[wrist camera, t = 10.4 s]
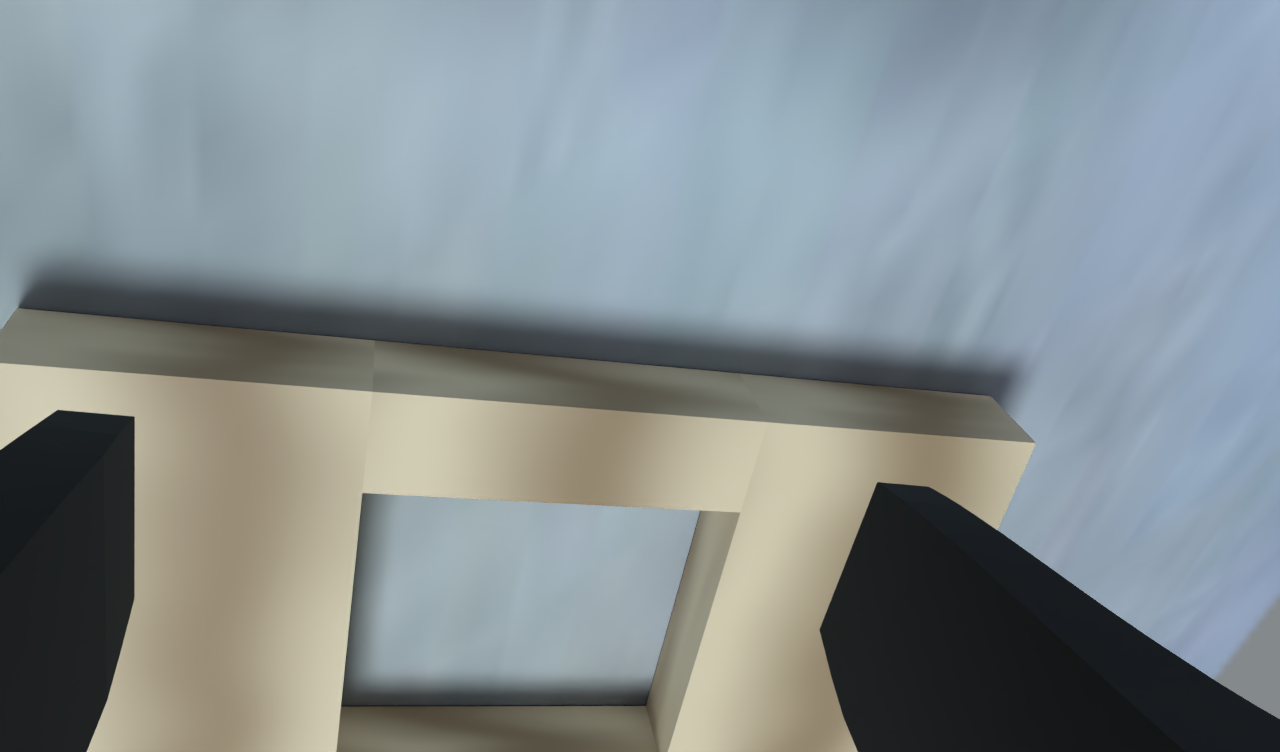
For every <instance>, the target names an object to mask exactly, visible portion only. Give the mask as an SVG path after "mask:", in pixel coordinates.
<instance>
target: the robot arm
mask: <svg viewBox="0 0 1280 752" xmlns="http://www.w3.org/2000/svg"><path fill="white" fill-rule="evenodd" d="M134 598H135V417H134V416H123V415H111V414H100V413H89V412H77V411H66V410H57V411H55V412H54V413H52V414H51V415H49V416H48V417H46V418H45V419H44V420H42V421H41V422H39V423H38V424H36V425H35V426H33V427H32V428H30V429H29V430H28V431H26V432H25V433H23V434H22V435H20V436H19V437H18V438H16V439H15V440H13V441H12V442H11V443H9V444H8V445H6V446H5V447H4V448H2V449H1V450H0V752H87V750H88V747H89V745H90V742H91V740H92V737H93V735H94V732H95V730H96V727H97V725H98V722H99V720H100V717H101V715H102V712H103V710H104V707H105V705H106V702H107V699H108V696H109V692H110V689H111V685H112V681H113V678H114V674H115V671H116V667H117V663H118V660H119V656H120V652H121V649H122V645H123V641H124V637H125V633H126V629H127V625H128V622H129V618H130V614H131V610H132V606H133V602H134ZM819 630H820V634H821V638H822V642H823V646H824V650H825V654H826V658H827V662H828V666H829V669H830V673H831V677H832V681H833V684H834V687H835V691H836V694H837V697H838V701H839V704H840V707H841V711H842V714H843V717H844V720H845V722H846V725H847V727H848V729H849V732H850V734H851V737H852V739H853V742H854V744H855V746H856V749H857V751H858V752H1280V719H1278V718H1276V717H1275V716H1273V715H1271V714H1269V713H1268V712H1266V711H1264V710H1262V709H1261V708H1259V707H1257V706H1255V705H1254V704H1252V703H1251V702H1249V701H1247V700H1246V699H1244V698H1242V697H1241V696H1239V695H1237V694H1236V693H1234V692H1233V691H1231V690H1229V689H1228V688H1226V687H1224V686H1223V685H1221V684H1220V683H1218V682H1216V681H1215V680H1213V679H1212V678H1210V677H1209V676H1207V675H1206V674H1204V673H1202V672H1201V671H1199V670H1198V669H1196V668H1195V667H1193V666H1192V665H1190V664H1189V663H1187V662H1186V661H1184V660H1183V659H1181V658H1180V657H1178V656H1176V655H1175V654H1173V653H1172V652H1170V651H1169V650H1167V649H1166V648H1164V647H1163V646H1161V645H1160V644H1158V643H1157V642H1155V641H1154V640H1152V639H1151V638H1149V637H1148V636H1146V635H1145V634H1143V633H1142V632H1140V631H1139V630H1137V629H1136V628H1134V627H1133V626H1132V625H1130V624H1129V623H1127V622H1126V621H1124V620H1123V619H1121V618H1120V617H1118V616H1117V615H1116V614H1114V613H1113V612H1111V611H1110V610H1108V609H1107V608H1106V607H1104V606H1103V605H1101V604H1100V603H1098V602H1097V601H1096V600H1094V599H1093V598H1091V597H1090V596H1089V595H1087V594H1086V593H1084V592H1083V591H1082V590H1080V589H1079V588H1077V587H1076V586H1075V585H1073V584H1072V583H1070V582H1069V581H1068V580H1066V579H1065V578H1063V577H1062V576H1061V575H1059V574H1058V573H1056V572H1055V571H1054V570H1052V569H1051V568H1049V567H1048V566H1047V565H1045V564H1044V563H1042V562H1041V561H1040V560H1038V559H1037V558H1035V557H1034V556H1033V555H1031V554H1030V553H1028V552H1027V551H1026V550H1024V549H1023V548H1022V547H1020V546H1019V545H1017V544H1016V543H1015V542H1013V541H1012V540H1010V539H1009V538H1008V537H1006V536H1005V535H1003V534H1002V533H1000V532H999V531H998V530H996V529H995V528H993V527H992V526H990V525H989V524H987V523H986V522H985V521H983V520H982V519H980V518H979V517H977V516H976V515H974V514H973V513H971V512H970V511H968V510H967V509H965V508H964V507H962V506H961V505H959V504H958V503H956V502H954V501H953V500H951V499H950V498H948V497H946V496H944V495H943V494H941V493H939V492H937V491H936V490H934V489H932V488H930V487H927V486H916V485H905V484H893V483H882V482H877V484H876V487H875V489H874V492H873V494H872V497H871V499H870V502H869V505H868V507H867V510H866V512H865V515H864V517H863V520H862V522H861V525H860V528H859V530H858V533H857V535H856V538H855V540H854V543H853V545H852V548H851V550H850V553H849V556H848V558H847V561H846V563H845V566H844V568H843V571H842V573H841V576H840V578H839V581H838V584H837V586H836V589H835V591H834V594H833V596H832V599H831V601H830V604H829V606H828V609H827V612H826V614H825V617H824V619H823V622H822V624H821V627H820V629H819Z"/></svg>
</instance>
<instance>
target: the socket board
mask: <svg viewBox="0 0 1280 752" xmlns="http://www.w3.org/2000/svg"><path fill="white" fill-rule="evenodd" d="M57 410H66V411H77V412H89V413H100V414H111V415H123V416H134V417H135V598H134V602H133V606H132V610H131V614H130V618H129V622H128V625H127V629H126V633H125V637H124V641H123V645H122V649H121V652H120V656H119V660H118V663H117V667H116V671H115V674H114V678H113V681H112V685H111V689H110V692H109V696H108V699H107V702H106V705H105V707H104V710H103V712H102V715H101V717H100V720H99V722H98V725H97V727H96V730H95V732H94V735H93V737H92V740H91V742H90V745H89V747H88V750H87V752H858V751H857V749H856V746H855V744H854V742H853V739H852V737H851V734H850V732H849V729H848V727H847V725H846V722H845V720H844V717H843V714H842V711H841V707H840V704H839V701H838V697H837V694H836V691H835V687H834V684H833V681H832V677H831V673H830V669H829V666H828V662H827V658H826V654H825V650H824V646H823V642H822V638H821V634H820V630H819V629H820V627H821V624H822V622H823V619H824V617H825V614H826V612H827V609H828V606H829V604H830V601H831V599H832V596H833V594H834V591H835V589H836V586H837V584H838V581H839V578H840V576H841V573H842V571H843V568H844V566H845V563H846V561H847V558H848V556H849V553H850V550H851V548H852V545H853V543H854V540H855V538H856V535H857V533H858V530H859V528H860V525H861V522H862V520H863V517H864V515H865V512H866V510H867V507H868V505H869V502H870V499H871V497H872V494H873V492H874V489H875V487H876V484H877V482H882V483H893V484H905V485H916V486H927V487H930V488H932V489H934V490H936V491H937V492H939V493H941V494H943V495H944V496H946V497H948V498H950V499H951V500H953V501H954V502H956V503H958V504H959V505H961V506H962V507H964V508H965V509H967V510H968V511H970V512H971V513H973V514H974V515H976V516H977V517H979V518H980V519H982V520H983V521H985V522H986V523H987V524H989V525H990V526H992V527H993V528H995V529H996V530H998V528H999V525H1000V523H1001V521H1002V519H1003V516H1004V514H1005V512H1006V510H1007V507H1008V505H1009V503H1010V501H1011V498H1012V496H1013V494H1014V492H1015V490H1016V487H1017V485H1018V483H1019V481H1020V478H1021V476H1022V474H1023V472H1024V469H1025V467H1026V465H1027V463H1028V460H1029V458H1030V456H1031V454H1032V451H1033V449H1034V447H1035V445H1036V442H1035V441H1034V440H1033V439H1032V438H1031V437H1030V436H1029V435H1028V434H1027V433H1026V432H1025V431H1024V430H1023V429H1022V428H1021V427H1020V426H1019V425H1018V424H1017V423H1016V422H1015V421H1014V420H1013V419H1012V418H1011V417H1010V415H1009V414H1008V413H1007V412H1006V411H1005V410H1004V409H1003V408H1002V407H1001V406H1000V405H999V404H998V403H997V402H996V401H995V400H994V399H993V398H992V397H991V396H984V395H973V394H962V393H951V392H940V391H929V390H918V389H907V388H895V387H884V386H873V385H862V384H851V383H840V382H829V381H818V380H807V379H796V378H785V377H774V376H763V375H752V374H740V373H729V372H718V371H707V370H696V369H685V368H674V367H663V366H652V365H641V364H630V363H619V362H608V361H597V360H586V359H574V358H563V357H552V356H541V355H530V354H519V353H508V352H497V351H486V350H475V349H464V348H453V347H442V346H431V345H420V344H408V343H397V342H386V341H375V340H364V339H353V338H342V337H331V336H320V335H309V334H298V333H287V332H276V331H265V330H254V329H242V328H231V327H220V326H209V325H198V324H187V323H176V322H165V321H154V320H143V319H132V318H121V317H110V316H99V315H87V314H76V313H65V312H54V311H43V310H32V309H21V308H17V309H16V310H15V312H14V313H13V315H12V316H11V317H10V319H9V320H8V321H7V323H6V324H5V326H4V327H3V328H2V330H1V331H0V450H1V449H2V448H4V447H5V446H6V445H8V444H9V443H11V442H12V441H13V440H15V439H16V438H18V437H19V436H20V435H22V434H23V433H25V432H26V431H28V430H29V429H30V428H32V427H33V426H35V425H36V424H38V423H39V422H41V421H42V420H44V419H45V418H46V417H48V416H49V415H51V414H52V413H54V412H55V411H57ZM362 493H371V494H391V495H410V496H430V497H449V498H468V499H488V500H507V501H526V502H546V503H565V504H585V505H604V506H623V507H643V508H662V509H682V510H701V512H700V516H699V519H698V523H697V526H696V530H695V533H694V537H693V540H692V544H691V547H690V551H689V555H688V558H687V562H686V565H685V569H684V572H683V576H682V579H681V583H680V586H679V590H678V594H677V597H676V601H675V604H674V608H673V611H672V615H671V618H670V622H669V625H668V629H667V633H666V636H665V640H664V643H663V647H662V650H661V654H660V657H659V661H658V664H657V668H656V672H655V675H654V679H653V682H652V686H651V689H650V693H649V696H648V700H647V703H646V706H413V707H341V701H342V691H343V681H344V671H345V661H346V651H347V641H348V631H349V621H350V611H351V601H352V591H353V581H354V571H355V561H356V551H357V541H358V531H359V521H360V511H361V501H362Z"/></svg>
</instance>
